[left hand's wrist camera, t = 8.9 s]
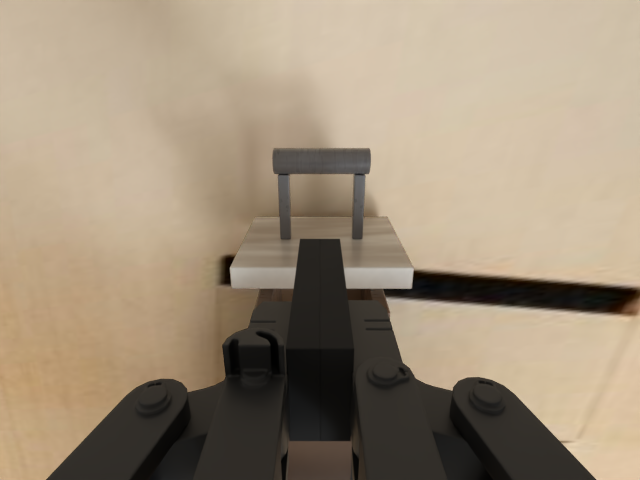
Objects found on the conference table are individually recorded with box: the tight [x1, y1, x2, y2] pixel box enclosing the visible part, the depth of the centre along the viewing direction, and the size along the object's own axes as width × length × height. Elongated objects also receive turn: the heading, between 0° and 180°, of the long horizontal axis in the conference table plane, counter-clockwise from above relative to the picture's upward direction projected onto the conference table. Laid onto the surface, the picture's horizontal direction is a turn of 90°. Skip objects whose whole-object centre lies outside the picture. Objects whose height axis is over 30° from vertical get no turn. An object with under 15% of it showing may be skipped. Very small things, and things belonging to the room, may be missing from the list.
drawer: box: [230, 148, 414, 319], centre depth 25 cm, size 22×9×8 cm, turn 0°
